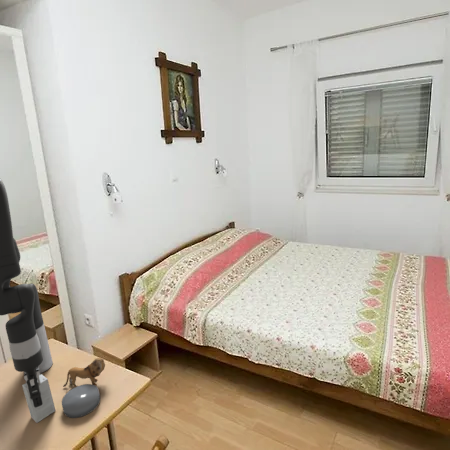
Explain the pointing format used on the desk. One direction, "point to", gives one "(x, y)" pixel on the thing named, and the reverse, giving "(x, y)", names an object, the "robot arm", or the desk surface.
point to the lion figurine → (86, 372)
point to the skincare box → (47, 400)
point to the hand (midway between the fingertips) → (37, 397)
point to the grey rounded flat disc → (80, 400)
